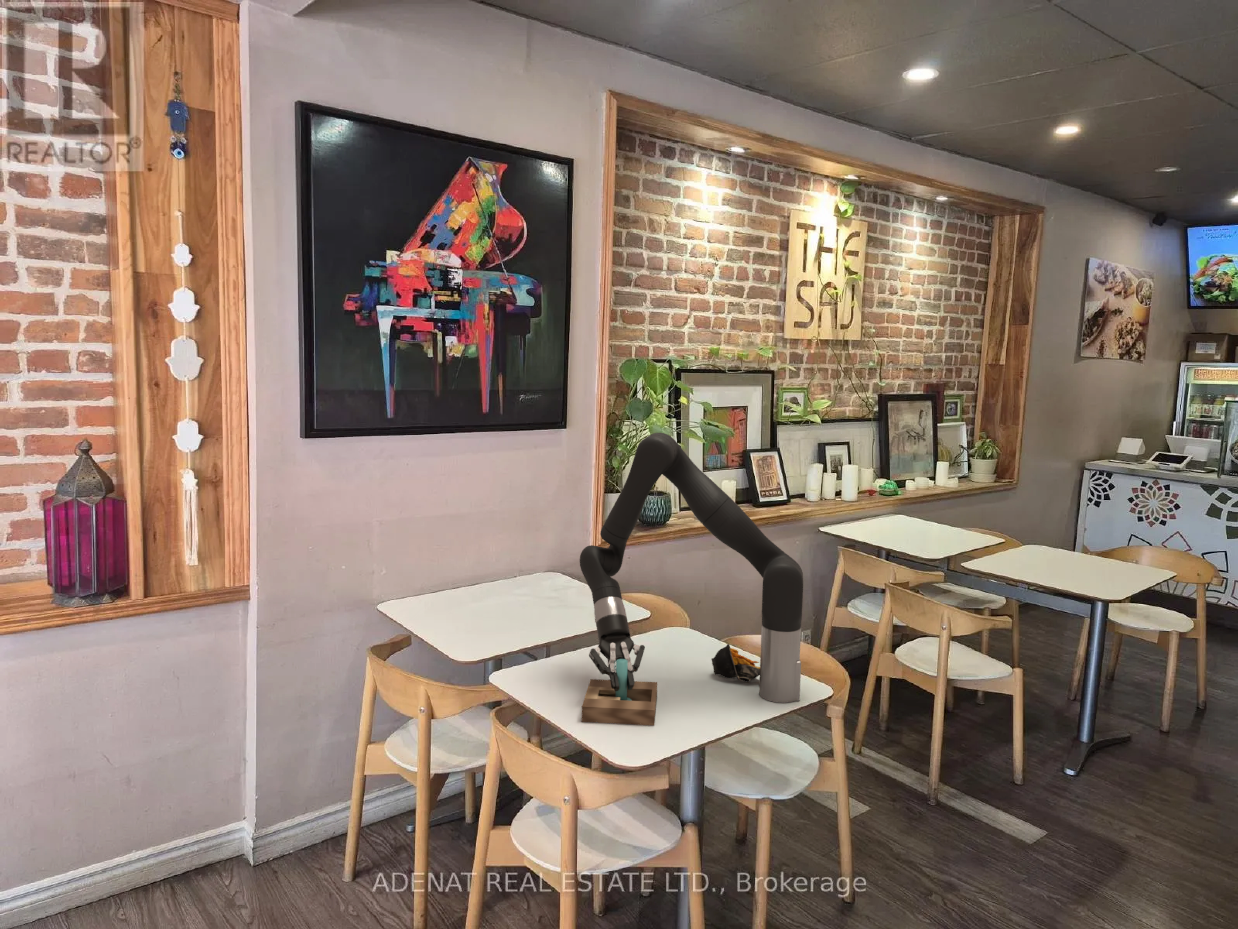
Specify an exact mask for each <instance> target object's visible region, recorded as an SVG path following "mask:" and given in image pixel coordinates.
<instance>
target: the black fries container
mask: <svg viewBox="0 0 1238 929" xmlns="http://www.w3.org/2000/svg"><path fill="white" fill-rule="evenodd" d="M758 663H760V661H757V660H752V659H750V658H748V657H746V656H744V655H741V654H739V650H738V649H736V648H731V645H730V643H726V646H725V647H722V648H721V649H719V650H717V652H716V654H715V656H714V657H713V658H711V665H712V668H713V674H714V675H715V676H716V675H720V676H722V677H724V678H726V679H727V678H729V679H732V678H733V679H734V678H735V679H737V680H738V681H742V682H746V681H747V682H750V681H751V680H753V679H754V680H755V679H756V678H758V677H760V666H757V665H756V664H758Z"/></svg>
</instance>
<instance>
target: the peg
mask: <svg viewBox="0 0 1238 929" xmlns="http://www.w3.org/2000/svg"><path fill="white" fill-rule="evenodd" d="M615 665H616V671H615V672H617V676H618V682H619V690H618V691H616V697H620V700H627V701H632V700H631V699H630V698H628V697H627V669H628V661H627V660H626V659H618V660H616V662H615Z"/></svg>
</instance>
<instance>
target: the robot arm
mask: <svg viewBox="0 0 1238 929" xmlns="http://www.w3.org/2000/svg"><path fill="white" fill-rule="evenodd" d="M634 454H635V455H634V457H633V461H632V463H631V466H630V470H629V473H628V475H627V478H626V480H625V483H624V484H623V488H622V489H621V490H620V493H619V495H618V496H617V499H616V501H615V502H614V504H613V506H612V508H611V510H610V511H609V513H608V515H607V518H606V519H605V521H604V523H603V525H602V528H601V530H600V534H599V535H600V538H601V539H602V540H603V541H604V542H606V543H607V544H609V546H608V547H603V546H598V545H591V544H590V545H588V546H585V547H584V548H583V549H582V550H581V553H580V556H579V567H580V571H581V574H582V575H583V577H584V579H585V582H586V584H587V585H588V588H589V590H590V591H591V596H592V602H593V609H594V610H593V611H594V612H593V614H594V623H595V626H596V631H597V632H596V633H597V637H598V638H597V639H598V646H597V647H596V648H591V649H590V651H589V653H588V657H589V658H590V660H591V662H592V663H593V664H594V666H595V667H596V668H597V670H598V671H599V673H600V674H601V675H607V676H608V677H609V680H610V682H611V687H612V689H614V690H615V691H618V690H619V682H618V676H617V672H616V660H618V659H626V660H627V661H628V669H627V687H628V690H632V688H633V686H634V684H635V677H634V673H637V672H638V670H639V668H640V666H641V664H642V663H641V662H642V659H643V656H644V653H645V648H646V647H645V645H644V644H641V645H638V644H636V643H635V642H634V640H632V638H631V631H630V627H629V623H628V622H629V620H628V618H627V612H626V608H625V604H624V600H623V596H622V591H621V587H620V584H619V582H618V581H617V580H616V579H615V578H613V577H614V576H615V575H617V574H618V573H619V571H620V570H621V567H622V565H623V562H624V561H623V560H624V556H625V555H624V554H625V550H626V548H627V543H628V540H629V538H630V536H631V535H632V532H633V530H634V529H635V527H636V526H637V523H638V521H639V518H640V516H641V513H642V510H643V507H644V505H645V502H646V499H647V498H648V495H649V494H650V492H651V490H652V489H653V487H654V485H655V484H656V483H657V481H658V480H659V479H660V478H661V477H662V475H663V476H664V477H665V478H666V479H667V480H668V481H669V482H670V483H671V484H672V485H674V487H675V488H676V489H677V490H678V491H679V493H681V495H682V497H683V499H684V501H685V503H686V504H687V506H688V507H689V509H690V510H691V512H692V513H693V515H694V516H695V518H696V519H697V520H698V521H699V522H700V524H701V525H702V526H704V527H705V529H706V530H708V531H709V533H711V534H712V535H713V536H714V537H715V538H716V539H717V540H718V541H720V542H721V543H722V544H724V545H725V546H727V547H728V548H731V549H732V550H734V551H735V552H737V553H738V554H740V555H741V556H742V557H744V558H745V559H746V560H747V562H749V563H750V564H751V566H753V568H754V569H755V571H757V573H759V575H760V576H761V577H762V578H763V579H762V592H761V594H762V596H761V629H760V630H761V631H760V632H761V634H760V635H761V636H760V655H759V656H760V657H759V658H760V661H759V663H760V664H759V667H760V675H759V682H758V683H759V684H758V687H759V690H758V694H759V697H761V698H762V699H765V700H766V701H770V702H774V703H783V704H784V703H785V704H786V703H792V702H799V701H800V698H801V697H800V696H801V695H800V693H801V675H802V674H801V673H802V671H801V670H802V661H801V659H800V658H801V640H802V639H801V637H802V620H803V600H804V573H803V570H802V568H801V566H800V564H799V563H798V562H797V561H796V560H795V559H794V558H793V557H791V556H790V555H789V554H788V553H786V552H785V551H784V550H782V549H781V548H780V547H779V546H777V544H775V543H774V542H773V541H772V540H770V539H769V538H768V537H767V536H766V535H765V534H764V533H763V531H762V530H761V529H760V528H759V527H758V525H757V524H756V523H755V522H754V521H753V520H752V519H751V518H750V516H749V515H747V513H746V512H745V511H744V510H743V509H742V508H741V507H740V506H739V504H737V503H736V502H735V501H734V500H733V499H732V498H731V497H730V496H729V495H728V494H727V493H726V492H725V491H723V490H722V488H720V486H718V485H717V484H716V483H715V482H714V481H713V480H712V479H711V478H710V477H709V476H707V474H705V473H704V472H703V471H702V470H701V469H700V468H699V467H698V466H697V465H696V464H695V463H694V462H693V460H692V459H691V458H690V457H689V456H688V455H687V453H686V452H685V451H684V450H683V448H682V447H681V446H680V445H679V444H678V442H677V441H676V440H675V439H674V438H673V437H672V436H671V435H669V434H667V433H665V432H655V433H651V434H650V435H648V436H646V437H644V438H643V439H641V441H640V442H639V444H638V445H637V447H636V451H635V453H634ZM632 650H633V653H634V655H635V660H634V663H633V664H632V660H631V656H630V654H631V652H632ZM601 654H602V656H604V657H605V659H607V664H606V663H605V661H604V660H603V658H602V657H601Z"/></svg>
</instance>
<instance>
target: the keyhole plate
mask: <svg viewBox="0 0 1238 929" xmlns="http://www.w3.org/2000/svg"><path fill="white" fill-rule="evenodd" d="M634 681H635V680H634ZM627 697H628V698H630V699H631V700H632V701H627V700H620V697H616V691H615V690H614V689H612V687H611V682H610V679H597V678H595V679H594V678H593V679H592V678H590V680H589V683H588V686H587V690H586V692H585V695H584V699H583V700H582V701H583V702H582V705H581V722H582V723H596V722H598V724H599V723H600V724H615V723H616V724H617V725H619V724H620V725H636V726H638V725H640V726H655V720H656V710H657V699H658V681H642V680H641V681H640V680H637V681H635V684H634V686H633V688H632V690H628V687H627Z"/></svg>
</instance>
